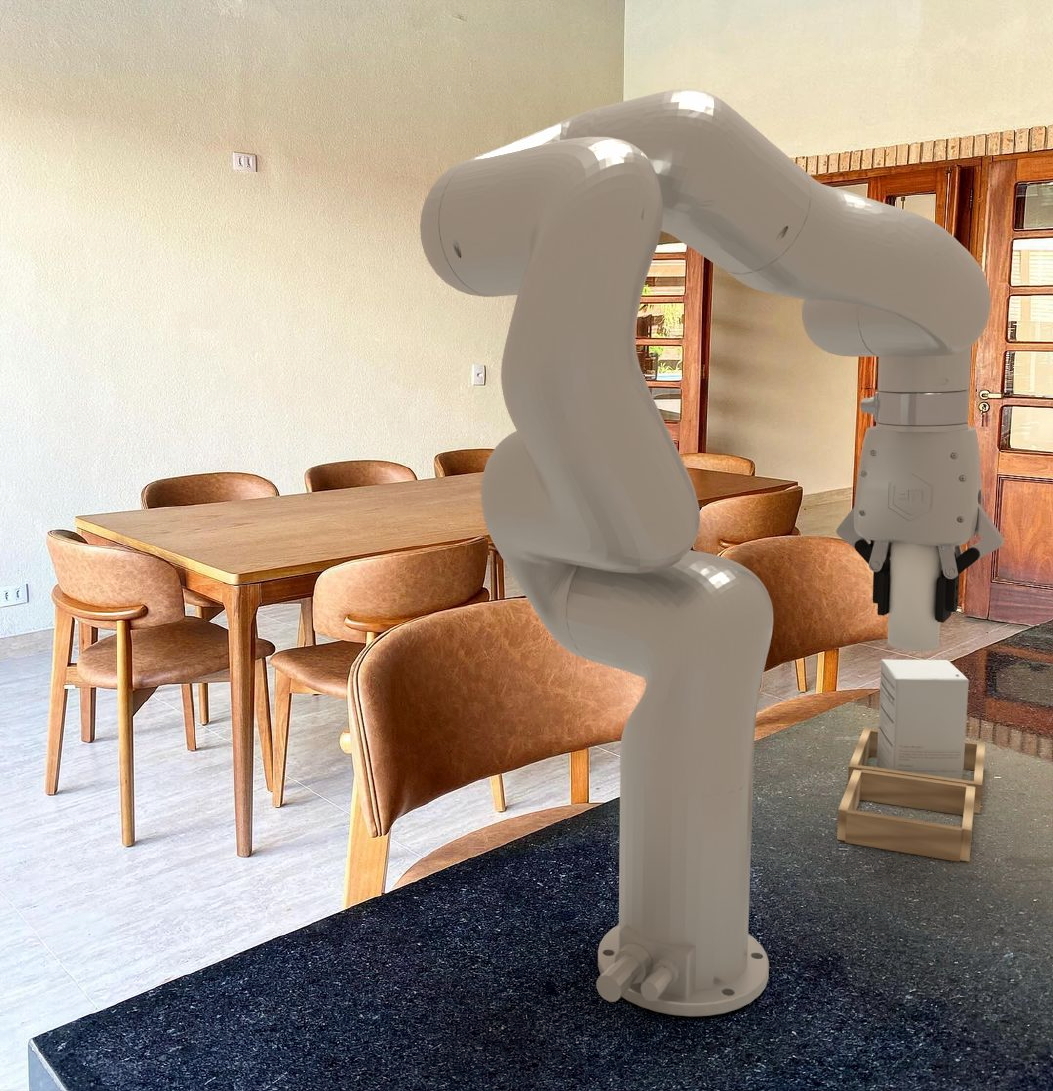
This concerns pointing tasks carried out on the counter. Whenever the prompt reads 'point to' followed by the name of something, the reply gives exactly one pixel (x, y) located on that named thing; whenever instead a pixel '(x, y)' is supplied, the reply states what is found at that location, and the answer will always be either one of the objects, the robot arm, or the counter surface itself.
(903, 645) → the frosted tube
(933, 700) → the supplement box
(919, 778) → the oak rack
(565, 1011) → the counter surface
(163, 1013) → the counter surface
